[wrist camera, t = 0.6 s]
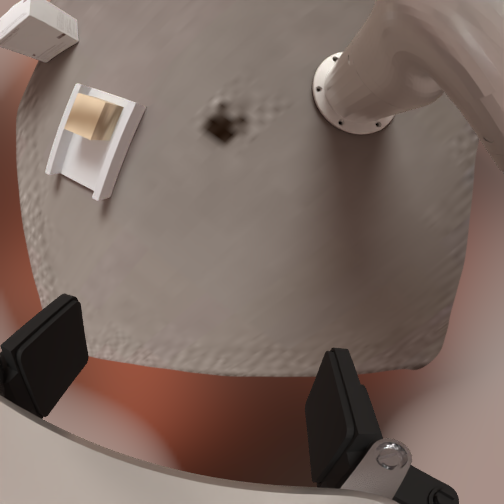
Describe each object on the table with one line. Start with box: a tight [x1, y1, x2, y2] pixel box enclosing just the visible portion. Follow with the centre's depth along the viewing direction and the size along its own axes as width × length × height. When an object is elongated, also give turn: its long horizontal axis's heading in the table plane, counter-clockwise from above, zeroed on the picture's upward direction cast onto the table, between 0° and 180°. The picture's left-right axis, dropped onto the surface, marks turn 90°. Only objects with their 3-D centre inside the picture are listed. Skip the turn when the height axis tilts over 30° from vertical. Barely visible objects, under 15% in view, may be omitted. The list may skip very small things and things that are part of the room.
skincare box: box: [0, 0, 79, 62], centre depth 27 cm, size 8×6×15 cm
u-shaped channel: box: [45, 83, 146, 201], centre depth 38 cm, size 15×12×4 cm
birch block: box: [64, 93, 124, 141], centre depth 35 cm, size 6×6×6 cm
